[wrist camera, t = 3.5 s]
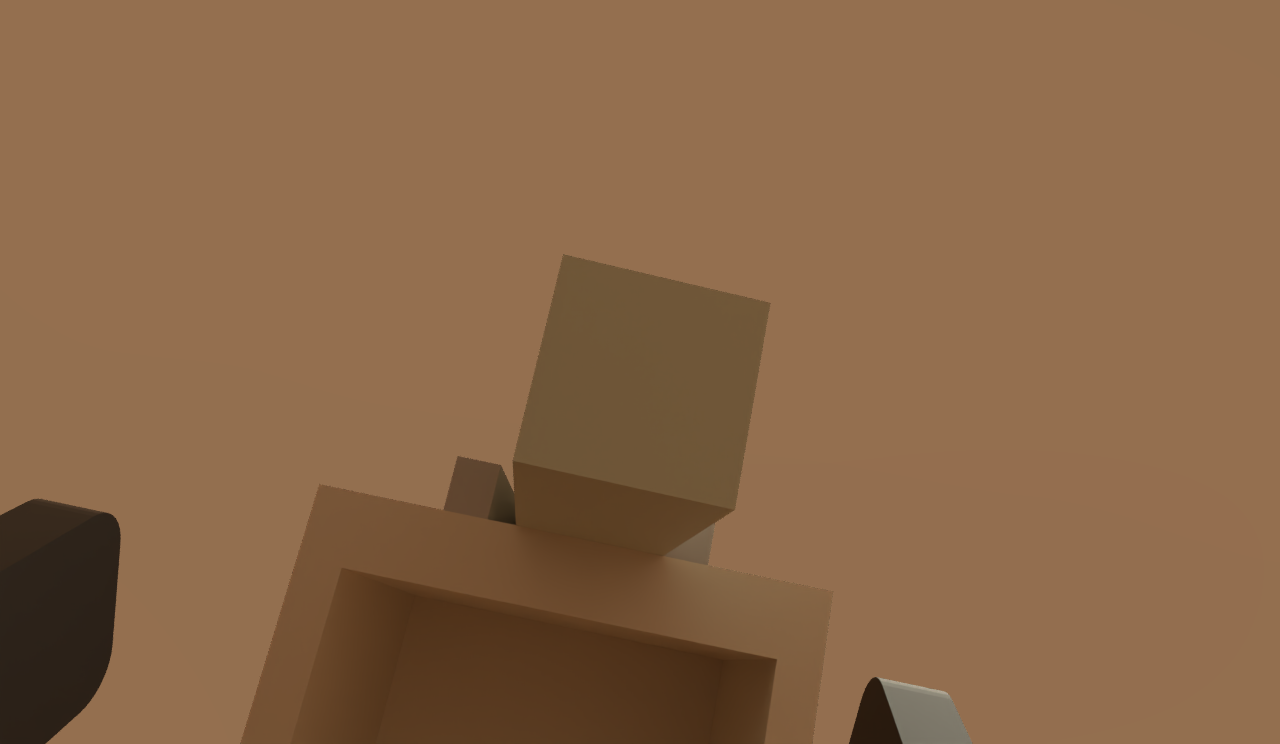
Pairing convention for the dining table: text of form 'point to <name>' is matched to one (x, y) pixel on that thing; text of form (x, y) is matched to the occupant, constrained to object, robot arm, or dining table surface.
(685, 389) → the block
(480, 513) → the block
